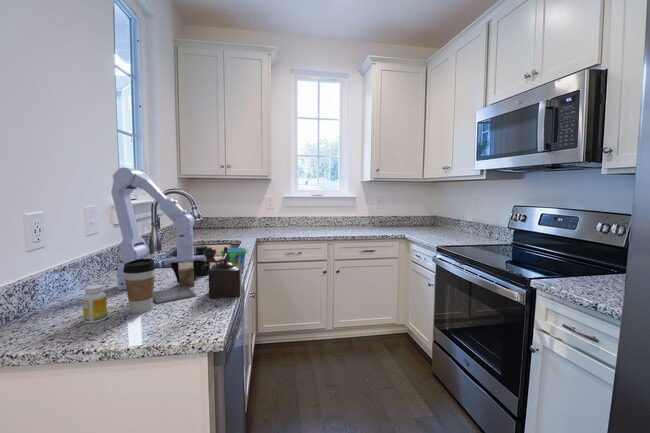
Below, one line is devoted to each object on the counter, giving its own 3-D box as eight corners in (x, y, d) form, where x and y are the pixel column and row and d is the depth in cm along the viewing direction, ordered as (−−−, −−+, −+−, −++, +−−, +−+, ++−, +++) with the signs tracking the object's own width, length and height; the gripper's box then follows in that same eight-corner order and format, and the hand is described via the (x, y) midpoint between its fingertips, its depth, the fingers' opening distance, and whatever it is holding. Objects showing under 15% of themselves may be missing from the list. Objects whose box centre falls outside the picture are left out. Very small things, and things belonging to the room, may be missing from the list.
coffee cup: (163, 306, 99) (161, 259, 98) (139, 316, 91) (137, 265, 90) (143, 303, 102) (140, 257, 101) (118, 312, 94) (115, 263, 93)
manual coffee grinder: (211, 289, 116) (210, 240, 114) (242, 287, 118) (241, 240, 116) (203, 304, 101) (201, 249, 99) (239, 302, 103) (237, 247, 101)
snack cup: (226, 268, 147) (226, 246, 146) (249, 267, 147) (249, 246, 146) (217, 277, 131) (216, 253, 130) (243, 277, 132) (242, 253, 131)
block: (179, 287, 117) (179, 271, 117) (179, 283, 122) (178, 268, 121) (194, 285, 120) (193, 270, 119) (193, 282, 124) (192, 267, 124)
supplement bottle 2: (206, 276, 133) (205, 248, 132) (190, 276, 133) (189, 248, 132) (212, 272, 140) (212, 245, 139) (197, 271, 140) (196, 245, 139)
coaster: (156, 303, 101) (156, 301, 101) (150, 293, 111) (150, 291, 111) (195, 296, 109) (195, 294, 108) (186, 287, 118) (186, 285, 118)
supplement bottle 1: (80, 324, 86) (77, 290, 85) (89, 317, 91) (87, 284, 90) (102, 322, 87) (100, 288, 86) (110, 315, 92) (108, 283, 91)
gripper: (163, 249, 113) (165, 286, 114) (206, 246, 119) (207, 281, 120) (163, 246, 119) (165, 281, 120) (204, 243, 125) (205, 276, 127)
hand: (186, 281), depth 121 cm, fingers closed on block, 5 cm apart
